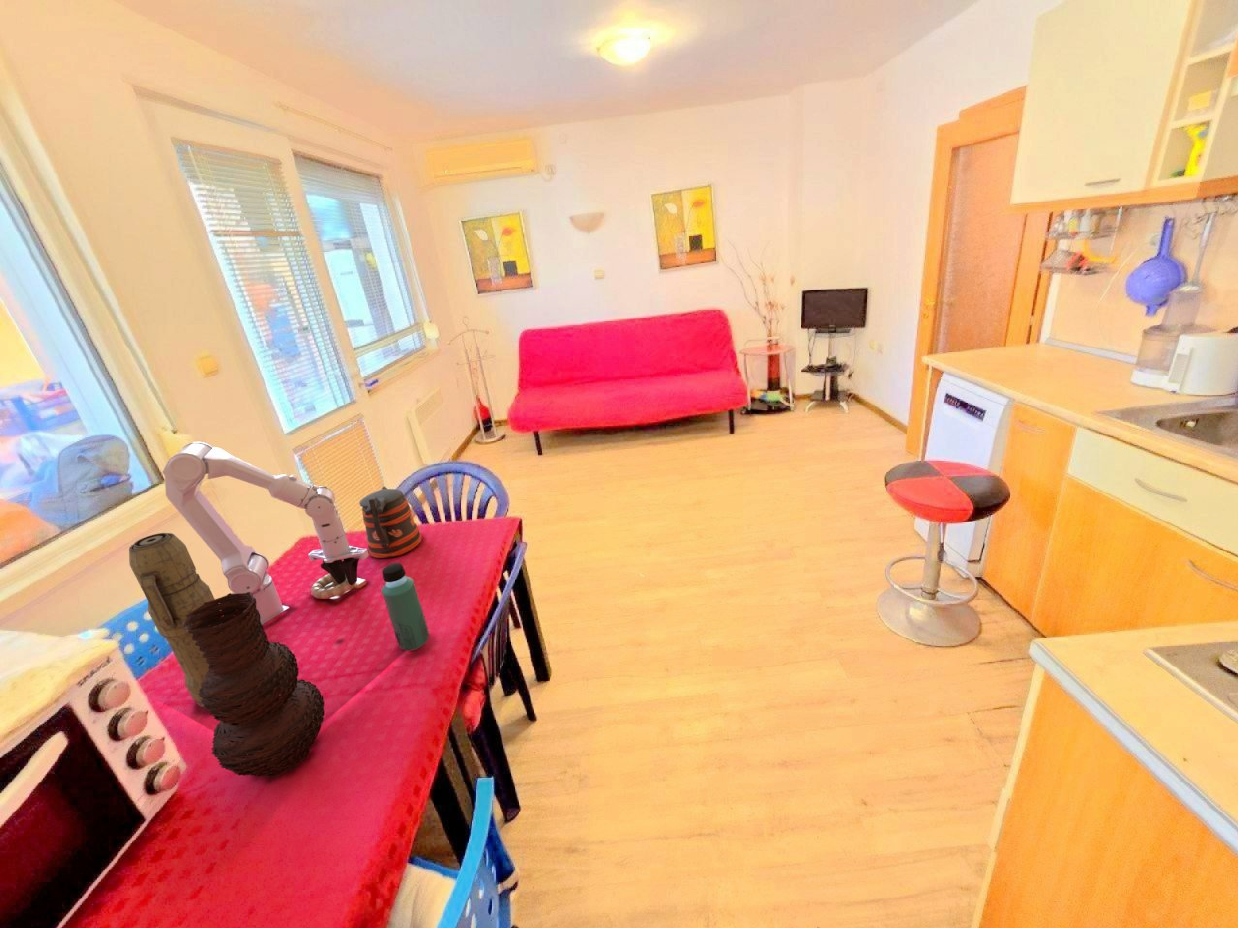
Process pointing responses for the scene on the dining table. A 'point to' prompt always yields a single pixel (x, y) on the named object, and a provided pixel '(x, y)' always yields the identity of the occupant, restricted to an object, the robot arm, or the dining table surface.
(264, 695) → the vase
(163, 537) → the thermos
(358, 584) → the stand
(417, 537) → the beer stein
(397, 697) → the dining table surface
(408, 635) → the beverage bottle
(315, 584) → the ring
